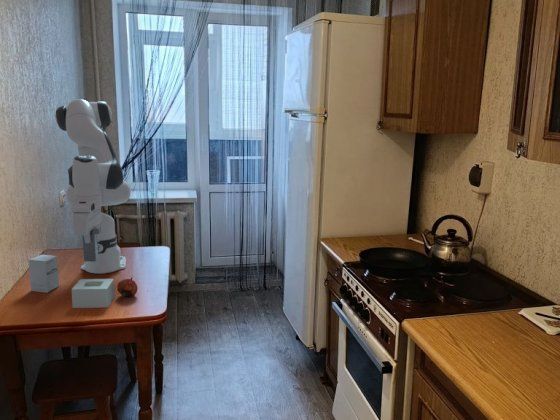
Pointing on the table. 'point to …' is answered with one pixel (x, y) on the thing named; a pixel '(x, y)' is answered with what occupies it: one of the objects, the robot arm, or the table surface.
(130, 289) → the pomegranate
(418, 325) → the table surface
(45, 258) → the supplement box
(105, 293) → the well block
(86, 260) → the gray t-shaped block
